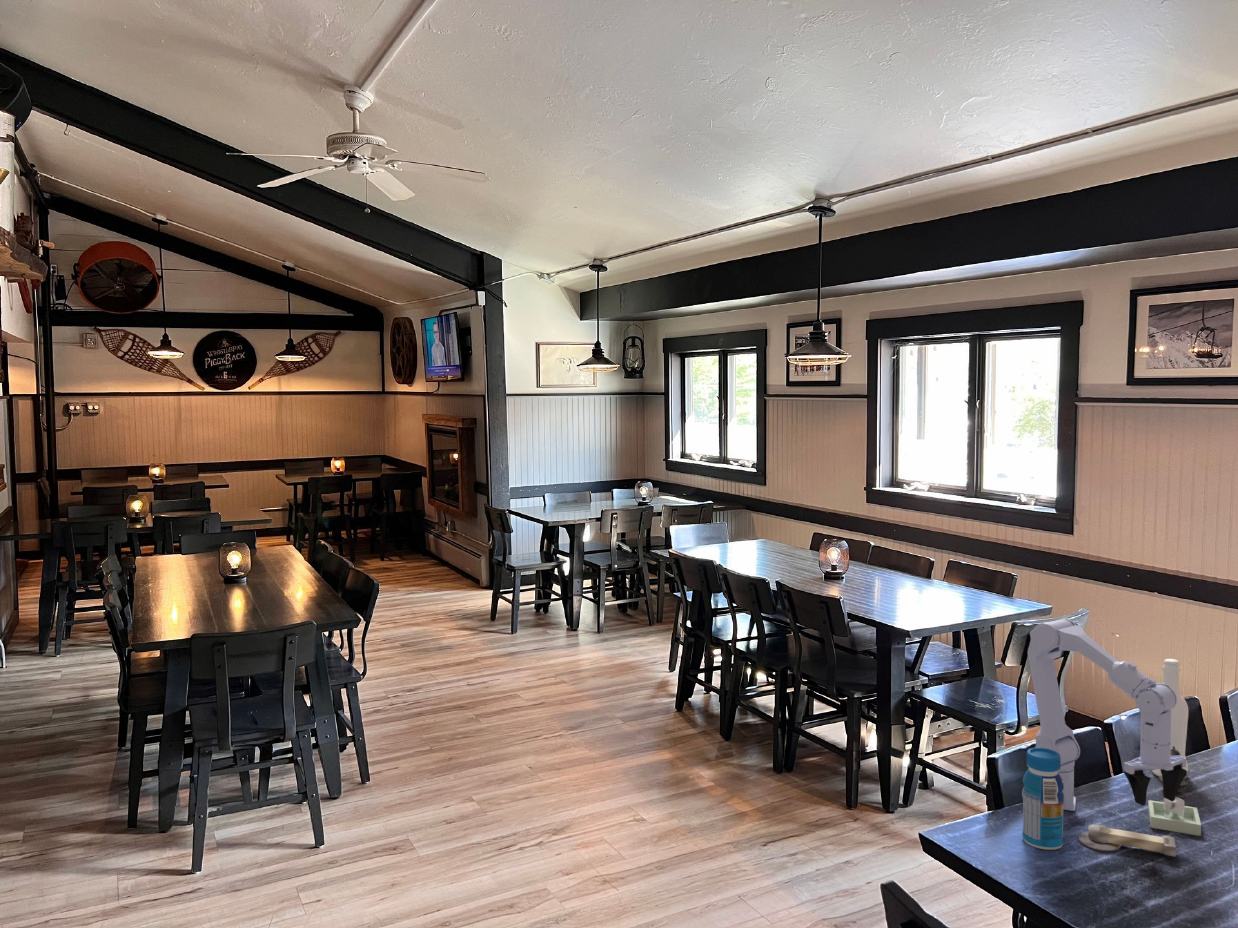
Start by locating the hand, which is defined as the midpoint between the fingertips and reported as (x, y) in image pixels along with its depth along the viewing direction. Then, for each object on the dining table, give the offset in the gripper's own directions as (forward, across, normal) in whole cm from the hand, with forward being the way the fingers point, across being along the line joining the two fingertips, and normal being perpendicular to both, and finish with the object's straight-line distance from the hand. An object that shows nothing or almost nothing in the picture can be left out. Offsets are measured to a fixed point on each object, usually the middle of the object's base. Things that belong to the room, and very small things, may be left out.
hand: (1154, 801), depth 198 cm
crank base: (+8, -12, +2) cm, 15 cm away
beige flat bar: (+7, -8, -2) cm, 11 cm away
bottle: (+9, +31, +28) cm, 42 cm away
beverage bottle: (+9, -24, +5) cm, 26 cm away
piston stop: (+8, +10, +5) cm, 14 cm away
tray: (+8, +10, +5) cm, 14 cm away
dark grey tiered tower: (+9, +22, +18) cm, 30 cm away
